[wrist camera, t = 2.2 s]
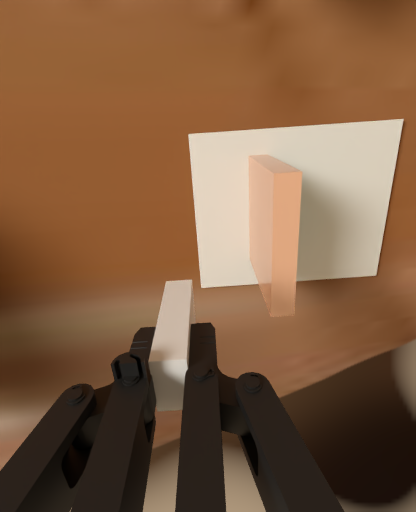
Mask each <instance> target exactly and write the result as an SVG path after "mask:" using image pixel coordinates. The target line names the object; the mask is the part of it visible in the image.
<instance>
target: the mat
mask: <svg viewBox="0 0 416 512" xmlns="http://www.w3.org/2000/svg"><path fill="white" fill-rule="evenodd" d="M402 125H403V119H395V120H381V121H367V122H353V123H339V124H325V125H311V126H296V127H282V128H268V129H254V130H240V131H226V132H212V133H198V134H189V146H190V158H191V170H192V182H193V194H194V206H195V217H196V229H197V241H198V253H199V265H200V277H201V288H207V287H221V286H236V285H250V284H259V283H258V281H257V278H256V275H255V272H254V270H253V267H252V264H251V262H250V252H249V163H248V156H250V155H264V154H268V155H270V156H272V157H274V158H276V159H278V160H280V161H282V162H284V163H286V164H288V165H290V166H292V167H294V168H296V169H298V170H300V171H302V188H301V205H300V223H299V240H298V257H297V275H296V281H307V280H321V279H335V278H349V277H364V276H376V274H377V268H378V262H379V256H380V251H381V245H382V239H383V234H384V228H385V222H386V216H387V211H388V205H389V199H390V194H391V188H392V182H393V176H394V171H395V165H396V159H397V154H398V148H399V142H400V137H401V131H402Z"/></svg>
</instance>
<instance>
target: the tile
mask: <svg viewBox="0 0 416 512" xmlns="http://www.w3.org/2000/svg"><path fill="white" fill-rule="evenodd" d="M248 163H249V252H250V262H251V264H252V267H253V270H254V272H255V275H256V278H257V281H258V283H259V286H260V289H261V292H262V294H263V297H264V300H265V302H266V305H267V308H268V311H269V313H270V316H271V317H277V316H291V315H294V310H295V292H296V275H297V257H298V240H299V223H300V205H301V188H302V171H300V170H298V169H296V168H294V167H292V166H290V165H288V164H286V163H284V162H282V161H280V160H278V159H276V158H274V157H272V156H270V155H268V154H264V155H250V156H248Z"/></svg>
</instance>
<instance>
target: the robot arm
mask: <svg viewBox="0 0 416 512" xmlns="http://www.w3.org/2000/svg"><path fill="white" fill-rule="evenodd" d="M195 321H196V318H195V307H194V297H193V287H192V280H179V281H166V285H165V289H164V294H163V298H162V303H161V307H160V312H159V316H158V321H157V325H156V327H145V328H140V329H139V330H138V332H137V333H136V334H135V336H134V339H133V343H132V345H131V349H130V351H129V352H127V353H124V354H121V355H119V356H118V357H116V358H115V359H114V360H113V362H112V363H111V367H112V371H113V376H114V380H115V381H114V382H113V383H112V384H110V385H107V386H105V387H102V388H99V389H95V390H94V389H93V388H92V386H91V385H88V384H77V385H74V386H72V387H70V388H68V389H67V390H65V391H64V392H63V393H62V394H61V395H60V397H59V398H58V399H57V400H56V402H55V403H54V404H53V405H52V407H51V408H50V409H49V411H48V412H47V413H46V414H45V416H44V417H43V418H42V419H41V421H40V422H39V423H38V424H37V426H36V427H35V428H34V429H33V431H32V432H31V433H30V434H29V436H28V437H27V438H26V439H25V441H24V442H23V443H22V444H21V446H20V447H19V448H18V449H17V451H16V452H15V453H14V455H13V456H12V457H11V458H10V460H9V461H8V462H7V463H6V465H5V466H4V467H3V468H2V470H1V471H0V512H69V511H70V510H71V512H143V505H144V498H145V492H146V485H147V478H148V472H149V464H150V458H151V452H152V445H153V439H154V432H155V425H156V419H155V407H156V406H157V411H173V410H182V424H181V438H180V452H179V466H178V480H177V494H176V508H175V512H226V502H225V484H224V467H223V450H222V433H221V432H222V431H227V432H230V433H234V434H237V435H238V438H239V440H240V443H241V446H242V449H243V451H244V454H245V456H246V459H247V462H248V465H249V467H250V470H251V472H252V475H253V478H254V481H255V483H256V486H257V488H258V491H259V494H260V496H261V499H262V501H263V504H264V507H265V510H266V512H344V510H343V509H342V507H341V505H340V503H339V502H338V500H337V498H336V496H335V495H334V493H333V491H332V489H331V488H330V486H329V484H328V483H327V481H326V479H325V477H324V476H323V474H322V472H321V470H320V469H319V467H318V465H317V464H316V462H315V460H314V458H313V457H312V455H311V453H310V452H309V450H308V448H307V446H306V445H305V443H304V441H303V439H302V438H301V436H300V434H299V433H298V431H297V429H296V427H295V426H294V424H293V422H292V420H291V419H290V417H289V415H288V414H287V412H286V410H285V408H284V407H283V405H282V403H281V402H280V400H279V398H278V396H277V394H276V393H275V391H274V389H273V388H272V386H271V384H270V382H269V381H268V380H267V379H266V377H265V376H263V375H261V374H259V373H254V372H249V373H245V374H242V375H241V376H240V377H239V378H238V379H235V378H231V377H228V376H226V375H224V374H222V373H221V372H220V370H219V369H218V366H217V352H216V337H215V328H214V327H213V325H212V324H211V323H196V324H195ZM221 430H222V431H221ZM71 508H72V509H71Z"/></svg>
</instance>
